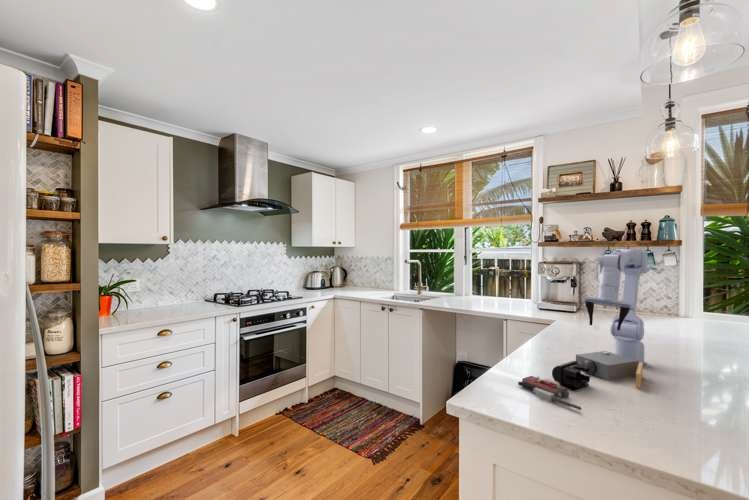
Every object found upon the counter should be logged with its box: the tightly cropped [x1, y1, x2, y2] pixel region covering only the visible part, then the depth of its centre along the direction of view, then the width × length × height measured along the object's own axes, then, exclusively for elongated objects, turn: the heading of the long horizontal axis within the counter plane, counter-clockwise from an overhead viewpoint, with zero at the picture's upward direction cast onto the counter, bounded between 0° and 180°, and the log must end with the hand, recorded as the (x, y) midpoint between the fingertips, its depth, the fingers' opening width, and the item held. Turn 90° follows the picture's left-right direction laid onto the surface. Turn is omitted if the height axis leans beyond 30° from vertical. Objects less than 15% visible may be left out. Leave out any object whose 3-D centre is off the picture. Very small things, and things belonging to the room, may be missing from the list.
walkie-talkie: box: [517, 375, 582, 411], centre depth 102 cm, size 9×4×20 cm
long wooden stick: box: [635, 362, 644, 389], centre depth 113 cm, size 14×1×4 cm, turn 139°
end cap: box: [551, 360, 591, 392], centre depth 111 cm, size 10×7×7 cm
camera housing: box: [575, 350, 639, 381], centre depth 123 cm, size 17×12×6 cm
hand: (604, 327), depth 115 cm, fingers open, 7 cm apart
